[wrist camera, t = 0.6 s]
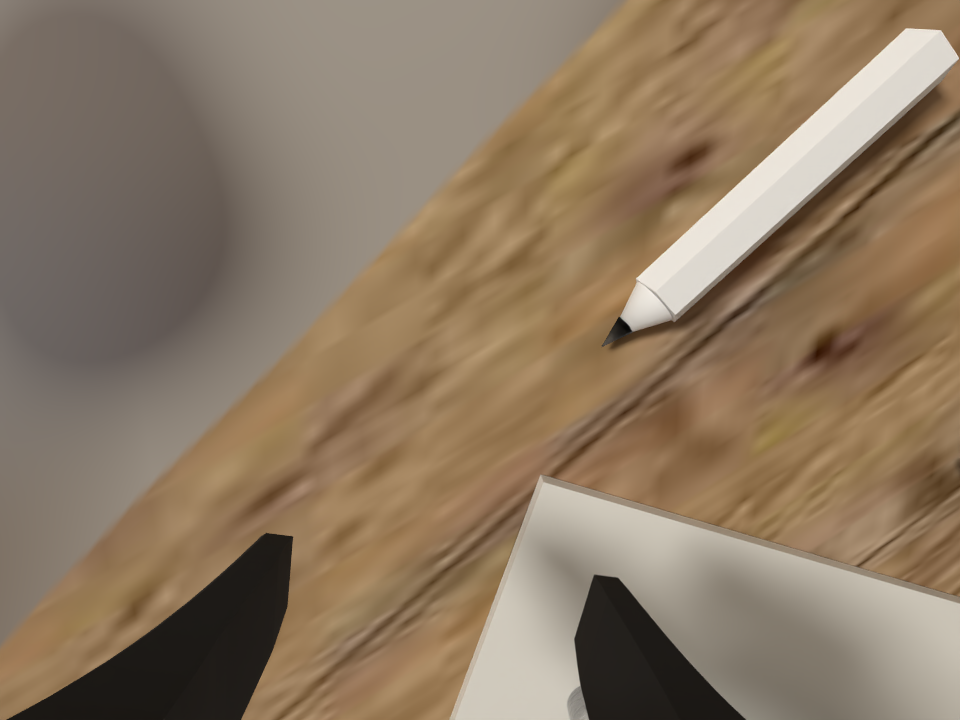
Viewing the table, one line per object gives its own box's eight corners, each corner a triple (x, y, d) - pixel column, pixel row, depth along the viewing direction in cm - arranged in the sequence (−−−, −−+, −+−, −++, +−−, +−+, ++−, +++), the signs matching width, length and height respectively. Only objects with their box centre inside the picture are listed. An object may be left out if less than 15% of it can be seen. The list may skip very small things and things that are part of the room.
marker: (589, 337, 23) (886, 62, 21) (623, 371, 22) (934, 90, 20) (581, 324, 21) (916, 11, 19) (619, 362, 20) (971, 42, 18)
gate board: (840, 884, 29) (851, 902, 28) (423, 790, 27) (422, 806, 26) (1002, 609, 26) (1019, 621, 25) (540, 474, 23) (543, 482, 22)
